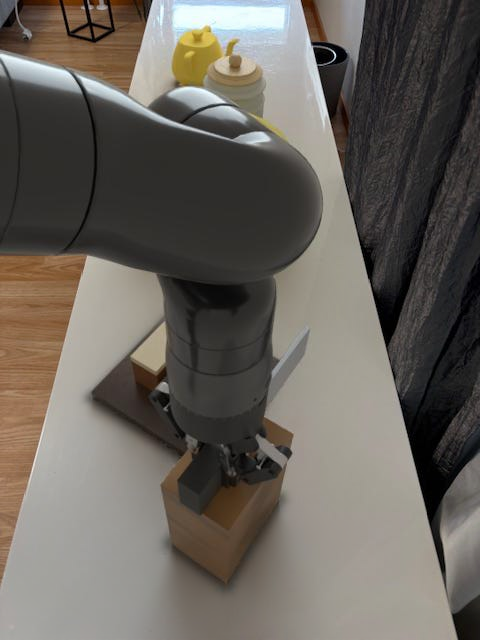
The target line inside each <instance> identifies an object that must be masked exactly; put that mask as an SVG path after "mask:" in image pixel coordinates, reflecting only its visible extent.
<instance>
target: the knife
mask: <svg viewBox="0 0 480 640" xmlns="http://www.w3.org/2000/svg"><path fill="white" fill-rule="evenodd" d="M310 332H311V327H310V326H308V325H306V326H305V327H304V328H303V330H302V331H301V332H300V334H299V335H298V336H297V337H296V339H295V340H294V342H292V344H291V345H290V347H289V348H288V350H287V351H286V352H285V354H284V355H283V356H282V357H281V359H279V360H280V362H279V363H278V364H277V366H276V367H275V368H274V370H273V371H272V378H271V382H270V385H269V390H268V397H267V404H266V409H267V408H268V406H269V405H270V404H271V403H272V401H273V399H274V398H275V397H276V395H277V394H278V393H279V392H280V390H281V388H282V387H283V386H284V384H285V383H286V382H287V380H288V379H289V377H290V376H291V374H292V373H293V372H294V370H295V369H296V367H297V366H298V365H299V363H300V362H301V361H302V359H303V358H304V356H305V354H306V350H307V347H308V346H307V345H308V341H309V336H310ZM222 469H223V466H222V464H220V463H219V462H218V461H217V456H216V451H215V448H213V447H212V444H208V443H205V444H204V446H203V447H202V448H201V450H200V451H199V452H198V454H197V455H196V456H195V457H194V459H193V460H192V461H191V463H190V464H189V465H188V467H187V468H186V469H185V470H184V472H183V473H182V474H181V476H180V477H179V478H178V480H177V484H178V492H179V500H180V503H181V504H183V505H184V506H186V507H187V508H189V509H190V510H192V511H193V512H195V513H196V514H198V515H199V516H201V515H202V513H203V512H204V511H205V509H206V508H207V506H208V505H209V504H210V502H211V501H212V499H213V498H214V496H215V495H216V494H217V492H218V491H219V489H220V488H221V487H222V485H221V482H222Z"/></svg>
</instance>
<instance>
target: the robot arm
mask: <svg viewBox="0 0 480 640" xmlns="http://www.w3.org/2000/svg"><path fill="white" fill-rule="evenodd" d="M288 142H289V141H288ZM288 142H286V141H285V140H284V139H282V138H281V137H280V136H278V135H277V134H276V133H274V132H273V131H272V130H270V129H269V128H268V127H266V126H265V125H263V124H262V123H261V122H259V121H258V120H257V119H255V118H254V117H253V116H251V115H250V114H249V113H247V112H246V111H245V110H244V109H242V108H241V107H240V106H239V105H237V104H236V103H234V102H233V101H232V100H230V99H229V98H227V97H226V96H224V95H223V94H221V93H218V92H216V91H214V90H211V89H209V88H205V87H202V86H193V85H188V86H178V87H173V88H172V89H169V90H167V91H166V92H164V93H161V94H160V95H159V96H158V97H156V98H155V99H153V101H152V102H150V104H148V105H147V106H145V105H144V104H143V103H141V102H140V101H138V100H137V99H136V98H134V97H133V96H132V95H130V94H128V93H127V92H125V90H123V89H121V88H120V87H119V86H116V85H114V84H113V83H111V82H109V81H107V80H104V79H102V78H100V77H98V76H96V75H92V74H90V73H87V72H84V71H82V70H79V69H76V68H72V67H70V66H66V65H60V64H57V63H53V62H49V61H45V60H42V59H38V58H35V57H31V56H27V55H24V54H23V55H22V54H19V53H15V52H11V51H7V50H4V49H0V257H53V256H54V257H63V256H88V257H92V258H97V259H100V260H104V261H108V262H110V263H113V264H117V265H120V266H123V267H127V268H130V269H134V270H139V271H143V272H148V273H151V274H152V273H153V274H155V276H156V278H157V281H158V283H159V286H160V289H161V293H162V301H163V315H164V317H163V318H165V327H166V337H167V340H166V348H165V361H166V369H167V376H166V377H165V378H164V379H163V380H162V381H161V383H160V384H159V385H158V386H157V387H156V388H155V389H154V390H153V391H152V393H151V394H150V395H149V399H150V400H151V402H152V404H153V405H154V407H155V408H156V410H157V411H158V413H159V415H160V416H161V418H162V419H163V421H164V423H165V424H166V426H167V427H168V429H169V431H170V432H171V434H172V435H173V436H174V438H175V439H177V440H179V441H181V440H182V439H183V438H184V439H185V441H187V442H188V445H187V447H188V449H189V450H190V451H191V453H192V454H191V455H192V459H194V457H195V456H196V455H197V454H198V452H199V451H200V450H201V448H202V447H203V446H204V444H205V443H208V444H212V447H213V448H215V451H216V456H217V461H218V462H219V463H220V464H222V466H223V469H222V482H221V485H222V486H223V487H225V488H226V489H228V488H229V487H230V486H232V487H236V486H237V484H238V483H239V481H240V480H242V481H243V482H244V483H245V484H248V485H253V484H257V483H261V482H264V481H268V480H271V479H275V478H277V477H278V475H279V474H280V472H281V471H282V470H283V468H284V466H285V465H286V463H287V464H288V461H289V460H290V458H291V457H292V455H293V450H291V448H290V449H289V448H288V447H287V446H284V445H280V446H277V447H276V446H275V445H274V444H271V443H269V442H268V441H267V440H266V436H267V432H266V429H265V427H264V425H263V419H264V417H265V414H266V410H267V408H266V404H267V397H268V390H269V385H270V382H271V378H272V372H271V368H272V360H273V357H274V350H273V330H274V323H275V315H276V309H277V302H278V301H277V298H278V297H277V294H278V293H277V283H276V279H275V276H276V275H277V274H279V273H281V272H283V271H284V270H286V269H288V268H289V267H291V266H292V265H293V264H295V262H296V261H298V260H299V259H300V258H301V257H302V256H303V255H304V253H305V252H307V250H308V249H309V247H310V246H311V244H312V242H313V241H314V239H315V238H316V236H317V234H318V231H319V228H320V226H321V222H322V219H323V218H322V217H323V211H324V196H323V191H322V186H321V182H320V179H319V177H318V175H317V173H316V171H315V169H314V168H313V166H312V164H311V163H310V162H309V160H308V159H307V157H305V156H304V155H303V154H302V153H301V151H299V150H298V149H297V148H295V147H294V145H291V144H290V142H289V143H288ZM255 451H257V453H258V454H256V455H255V456H254V457H253V458H252V457H249V453H250V452H255Z"/></svg>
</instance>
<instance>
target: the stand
mask: <svg viewBox="0 0 480 640" xmlns="http://www.w3.org/2000/svg"><path fill="white" fill-rule="evenodd" d="M263 425H264V427H265V429H266V432H267V436H266V440H267V441H268V442H269V443H271V444H274V445H275V446H276V447H277V446H280V445H284V446H287V447H288V448H289V449H290V450H291V449H292V443H293V439H294V435H295V434H294V433H293V432H291V431H289V430H288V429H286V428H285V427H283V426H281V425H279V424H277V423H276V422H274V421H272V420H271V419H269V418H267V417H266V416H264V419H263ZM191 454H192V453H191V451H190V450H189V449H188V450H187V451H186V453H185V454H184V455H183V456H181V458H180V459H179V460H178V462H177V463H176V464H175V465H174V467H173V468H172V469H171V470H170V472H169V473H168V474H167V475H166V477H165V478H164V479H163V480H162V482H161V483H160V484H159V485H160V486H159V487H160V491H161V495H162V501H163V507H164V510H165V517H166V521H167V527H168V532H169V537H170V542H171V545H172V546H173V547H174V548H176V549H177V550H179V551H180V552H182V553H183V554H184V555H186V556H187V557H188V558H190V559H191V560H192V561H194V562H195V563H197V564H198V565H199V566H201V567H202V568H203V569H205V570H206V571H208V573H211V574H212V575H213V576H214V577H216V578H217V579H219V580H220V581H221V582H222V583H224V584H228V582H229V580H230V579H231V577H232V576H233V574H234V572H235V571H236V569H237V568H238V566H239V565H240V563H241V562H242V560H243V558H244V557H245V555H246V553H247V552H248V550H249V548H250V547H251V545H252V543H253V542H254V541H255V539H256V537H257V536H258V534H259V533H260V531H261V529H262V528H263V527H264V526H265V523H266V522H267V520H268V518H269V516H270V515H271V514H272V512H273V511H274V509H275V507H276V506H277V504H278V502H279V501H280V496H281V492H282V487H283V483H284V479H285V478H284V477H285V474H286V470H287V465H288V462H287V463H286V465H285V466H284V468H283V470H282V471H281V472H280V474H279V475H278V477H277V478H275V479H271V480H268V481H264V482H261V483H257V484H253V485H248V484H245V483H244V482H243V481H242V480H240V481H239V483H238V484H237V486H236V487H232V486H230V487H229V488H228V489H226V488H225V487H223V486H222V487H221V488H220V489H219V491H218V492H217V494H216V495H215V496H214V498H213V499H212V501H211V502H210V504H209V505H208V506H207V508H206V509H205V511H204V512H203V513H202V515H201V516H199V515H198V514H196V513H195V512H193V511H192V510H190V509H189V508H187V507H186V506H184V505H183V504H181V503H180V500H179V492H178V484H177V480H178V478H179V477H180V476H181V474H182V473H183V472H184V470H185V469H186V468H187V467H188V465H189V464H190V463H191V461H192V460H193V459H192V455H191ZM256 454H258V453H257V451H255V452H250V453H249V457H252V458H253V457H254V456H255V455H256Z"/></svg>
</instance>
